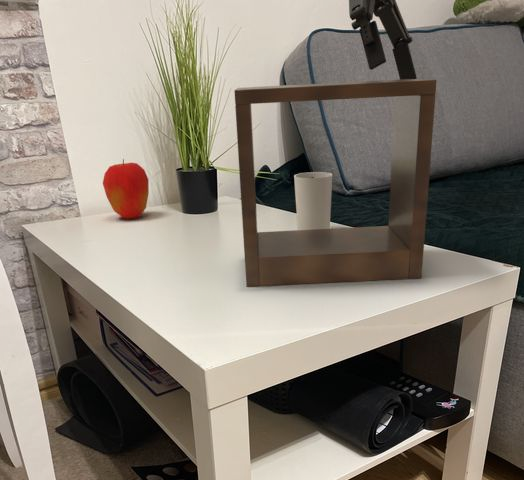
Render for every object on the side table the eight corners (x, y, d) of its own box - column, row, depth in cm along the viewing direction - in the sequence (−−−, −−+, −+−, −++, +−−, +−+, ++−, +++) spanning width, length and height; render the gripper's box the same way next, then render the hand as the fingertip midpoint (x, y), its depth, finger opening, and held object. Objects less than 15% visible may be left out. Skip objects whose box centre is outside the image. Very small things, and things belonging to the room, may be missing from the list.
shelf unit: (398, 250, 91) (408, 79, 81) (421, 278, 79) (436, 79, 68) (247, 257, 91) (237, 87, 81) (246, 286, 79) (234, 90, 68)
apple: (146, 210, 128) (139, 154, 123) (158, 218, 121) (150, 158, 115) (105, 216, 125) (95, 158, 119) (113, 224, 117) (104, 163, 112)
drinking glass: (287, 232, 105) (286, 175, 101) (316, 225, 108) (316, 170, 104) (310, 238, 100) (309, 179, 96) (339, 232, 103) (340, 174, 99)
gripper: (373, -13, 109) (401, 96, 110) (306, -65, 89) (341, 69, 90) (410, -37, 105) (439, 77, 105) (348, -97, 85) (384, 44, 85)
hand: (394, 74), depth 98 cm, fingers open, 13 cm apart
